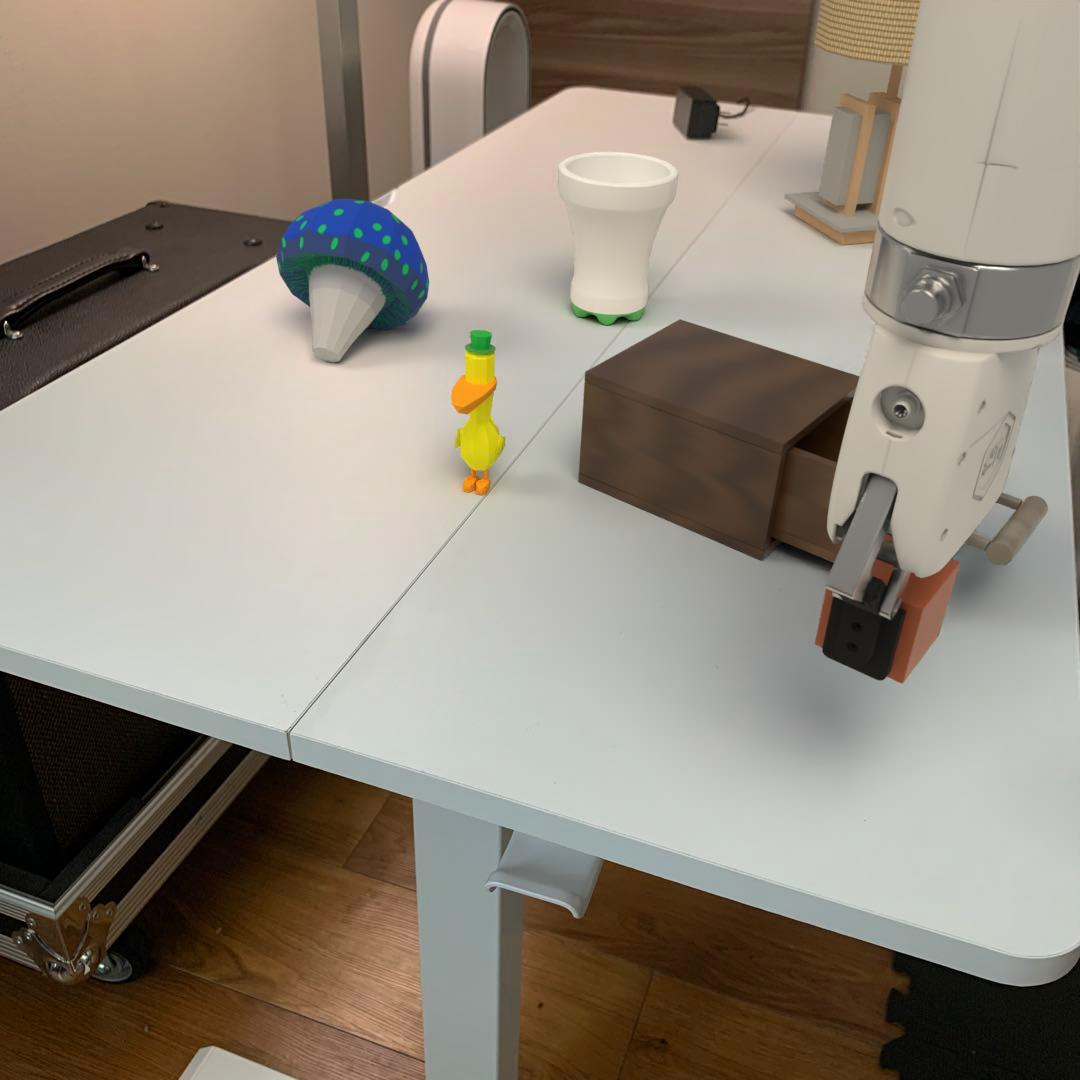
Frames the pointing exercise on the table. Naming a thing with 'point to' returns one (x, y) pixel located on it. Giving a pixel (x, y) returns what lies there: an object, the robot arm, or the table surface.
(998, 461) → the robot arm
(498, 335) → the table surface
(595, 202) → the cup
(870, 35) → the desk lamp
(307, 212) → the mushroom
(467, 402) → the toy figure
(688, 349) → the cabinet
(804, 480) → the drawer
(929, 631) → the block
